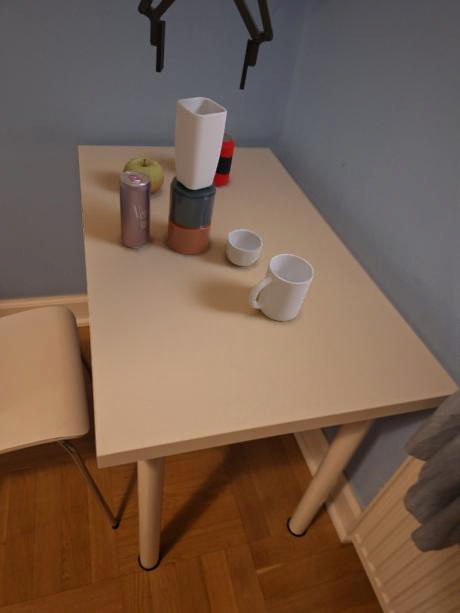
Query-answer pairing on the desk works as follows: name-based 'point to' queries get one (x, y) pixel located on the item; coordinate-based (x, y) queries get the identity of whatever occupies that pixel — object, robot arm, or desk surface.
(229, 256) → the teacup
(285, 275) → the mug
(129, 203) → the beverage can
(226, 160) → the soda can
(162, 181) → the apple
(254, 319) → the desk surface
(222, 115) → the cup
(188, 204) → the tumbler stack
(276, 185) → the desk surface
